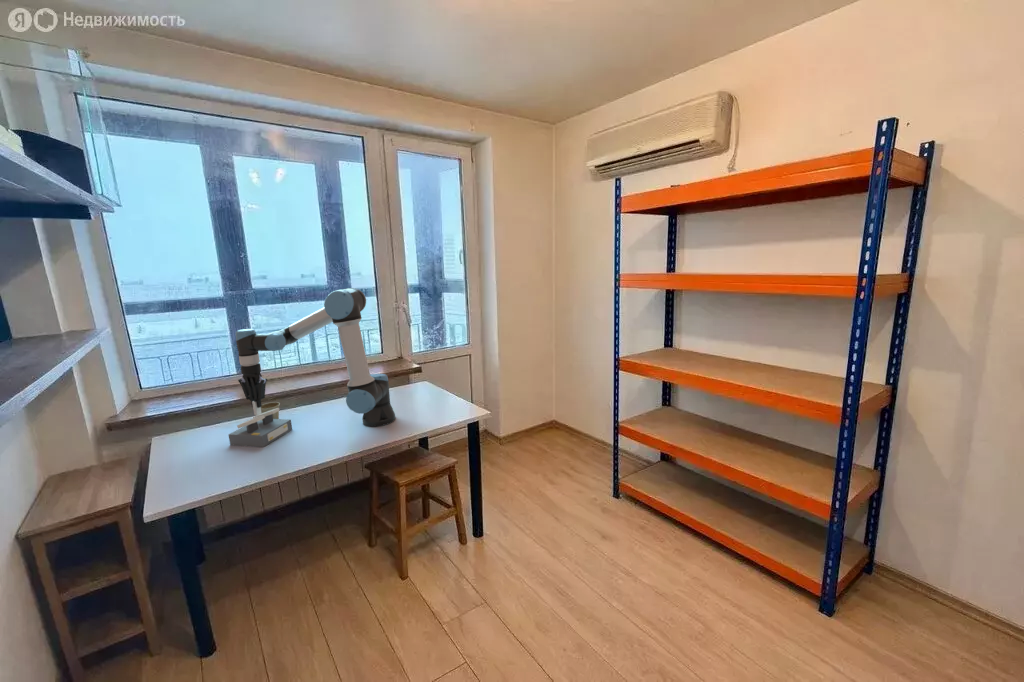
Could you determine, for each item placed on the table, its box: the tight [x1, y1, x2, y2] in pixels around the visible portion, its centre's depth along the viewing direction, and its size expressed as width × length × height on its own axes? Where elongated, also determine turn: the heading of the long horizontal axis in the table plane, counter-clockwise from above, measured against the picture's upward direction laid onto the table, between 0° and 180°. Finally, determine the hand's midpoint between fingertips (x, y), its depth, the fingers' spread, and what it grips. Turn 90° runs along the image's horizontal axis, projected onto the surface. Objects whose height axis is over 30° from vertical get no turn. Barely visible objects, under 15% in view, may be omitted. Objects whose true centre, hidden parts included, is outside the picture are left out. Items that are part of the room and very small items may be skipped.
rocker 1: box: [236, 415, 265, 430], centre depth 177 cm, size 11×4×1 cm, turn 80°
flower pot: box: [261, 401, 281, 419], centre depth 200 cm, size 9×9×9 cm
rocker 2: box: [252, 407, 281, 419], centre depth 186 cm, size 11×4×1 cm, turn 80°
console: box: [228, 414, 293, 448], centre depth 183 cm, size 16×18×8 cm
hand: (257, 414), depth 187 cm, fingers closed
